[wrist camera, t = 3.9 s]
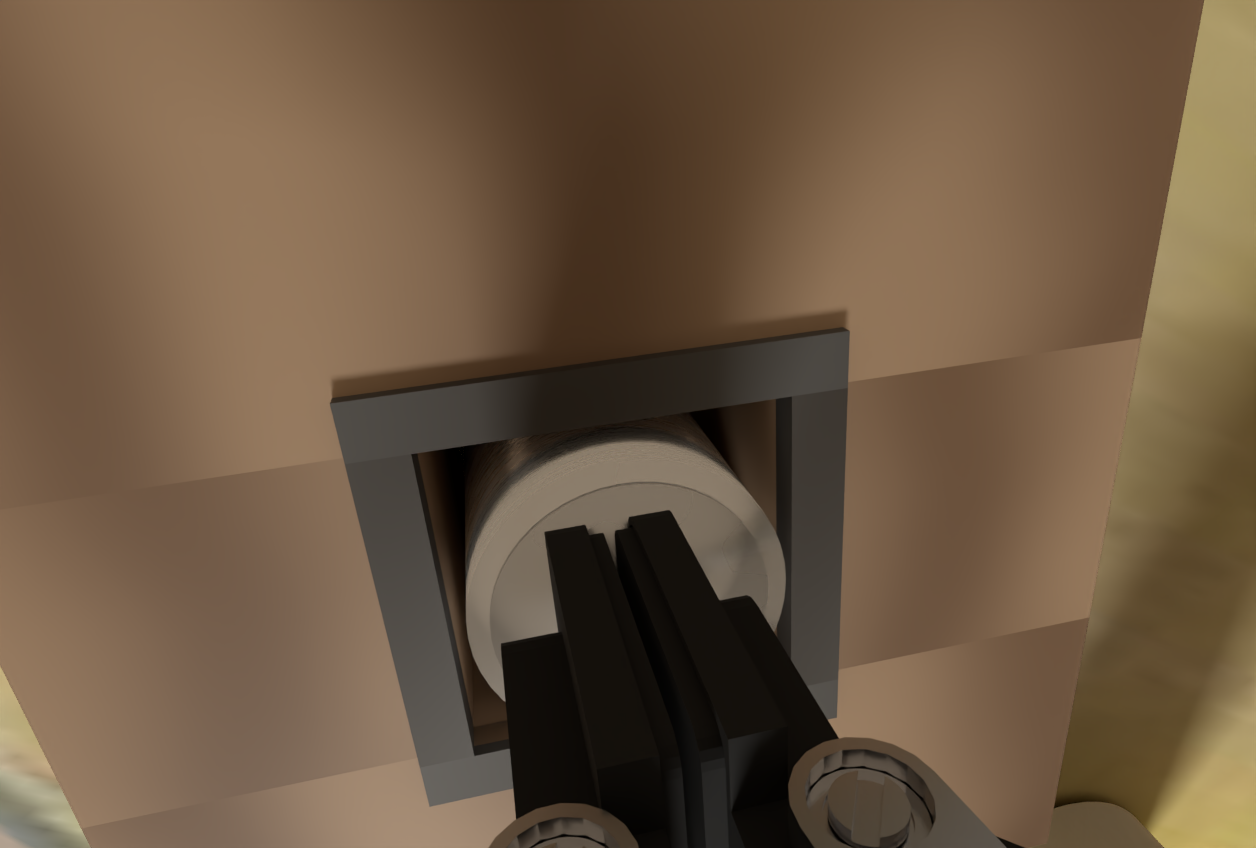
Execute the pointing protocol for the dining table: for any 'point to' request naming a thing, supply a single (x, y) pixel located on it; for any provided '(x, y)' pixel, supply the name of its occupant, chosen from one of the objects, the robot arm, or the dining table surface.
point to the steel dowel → (601, 520)
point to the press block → (551, 366)
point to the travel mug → (1097, 828)
